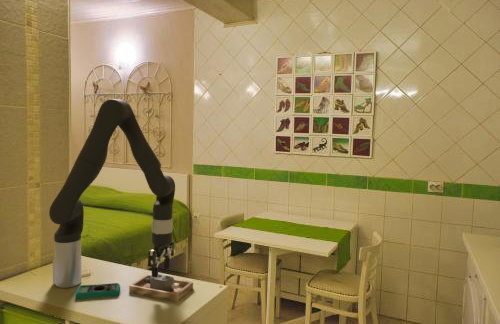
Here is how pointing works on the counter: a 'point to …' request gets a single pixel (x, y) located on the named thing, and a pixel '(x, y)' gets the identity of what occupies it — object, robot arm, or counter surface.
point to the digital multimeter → (97, 291)
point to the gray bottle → (162, 283)
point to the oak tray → (175, 295)
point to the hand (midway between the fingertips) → (161, 272)
